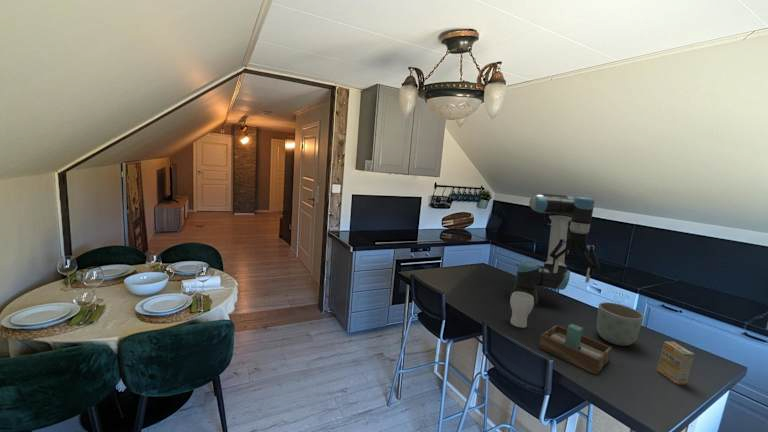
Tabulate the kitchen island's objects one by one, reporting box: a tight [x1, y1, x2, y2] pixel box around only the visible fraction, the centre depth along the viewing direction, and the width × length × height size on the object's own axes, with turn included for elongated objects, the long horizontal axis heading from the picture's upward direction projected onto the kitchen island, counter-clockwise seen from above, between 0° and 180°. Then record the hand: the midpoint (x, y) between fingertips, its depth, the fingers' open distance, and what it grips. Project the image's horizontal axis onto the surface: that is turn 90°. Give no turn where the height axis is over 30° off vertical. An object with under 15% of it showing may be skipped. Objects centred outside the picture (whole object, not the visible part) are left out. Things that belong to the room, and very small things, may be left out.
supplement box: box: [656, 341, 695, 385], centre depth 125 cm, size 8×5×13 cm, turn 5°
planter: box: [596, 301, 645, 347], centre depth 151 cm, size 17×17×15 cm
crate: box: [538, 324, 613, 375], centre depth 138 cm, size 16×22×6 cm
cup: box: [509, 292, 535, 329], centre depth 160 cm, size 11×11×15 cm
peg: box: [565, 323, 584, 350], centre depth 137 cm, size 4×4×12 cm
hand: (570, 277), depth 148 cm, fingers open, 13 cm apart
